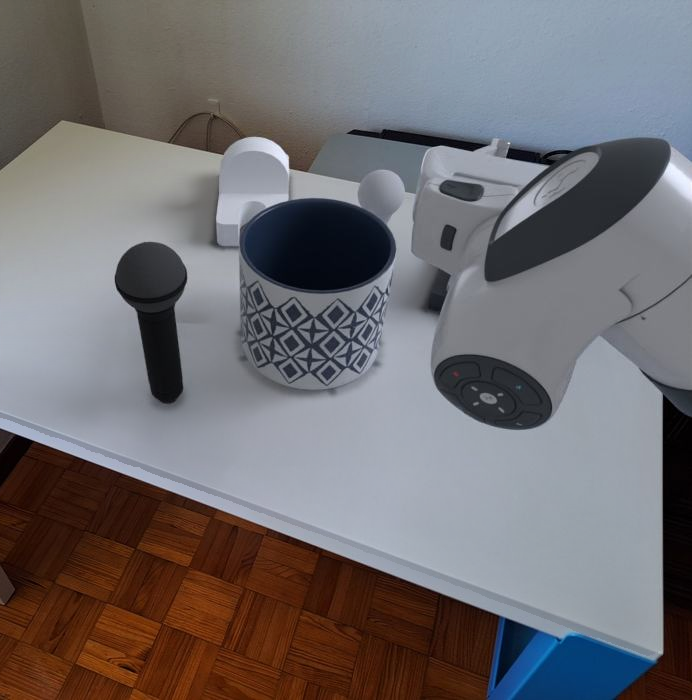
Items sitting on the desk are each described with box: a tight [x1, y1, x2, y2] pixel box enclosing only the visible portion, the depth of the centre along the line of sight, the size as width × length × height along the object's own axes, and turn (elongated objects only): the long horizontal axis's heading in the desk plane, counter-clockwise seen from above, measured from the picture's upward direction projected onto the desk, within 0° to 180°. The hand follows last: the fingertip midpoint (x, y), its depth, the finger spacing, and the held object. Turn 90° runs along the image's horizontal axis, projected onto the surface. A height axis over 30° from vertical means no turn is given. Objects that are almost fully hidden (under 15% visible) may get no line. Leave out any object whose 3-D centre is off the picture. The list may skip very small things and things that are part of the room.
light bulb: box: [357, 169, 406, 226], centre depth 89 cm, size 6×6×10 cm
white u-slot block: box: [215, 136, 290, 247], centre depth 95 cm, size 10×18×10 cm, turn 176°
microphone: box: [114, 241, 188, 405], centre depth 67 cm, size 7×7×20 cm
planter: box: [238, 197, 398, 391], centre depth 74 cm, size 16×16×14 cm
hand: (556, 157), depth 59 cm, fingers open, 8 cm apart
